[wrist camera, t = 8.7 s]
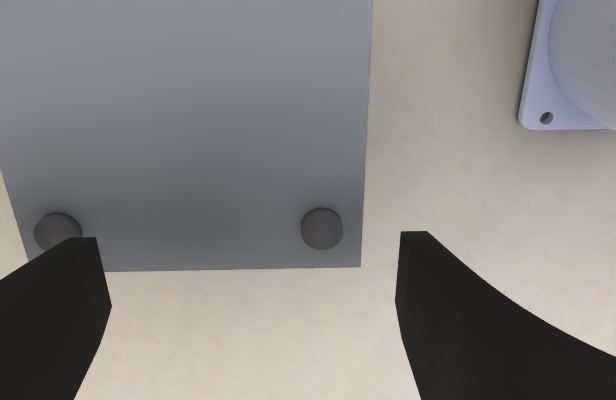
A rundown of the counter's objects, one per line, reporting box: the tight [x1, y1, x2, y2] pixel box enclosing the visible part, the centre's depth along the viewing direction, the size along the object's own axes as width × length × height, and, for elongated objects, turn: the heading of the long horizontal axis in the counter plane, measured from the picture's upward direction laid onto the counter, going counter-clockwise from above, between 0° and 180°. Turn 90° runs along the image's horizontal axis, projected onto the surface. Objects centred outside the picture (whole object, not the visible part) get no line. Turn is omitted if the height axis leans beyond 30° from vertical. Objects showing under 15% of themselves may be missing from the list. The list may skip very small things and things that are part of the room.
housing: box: [0, 0, 373, 272], centre depth 17 cm, size 10×10×7 cm
